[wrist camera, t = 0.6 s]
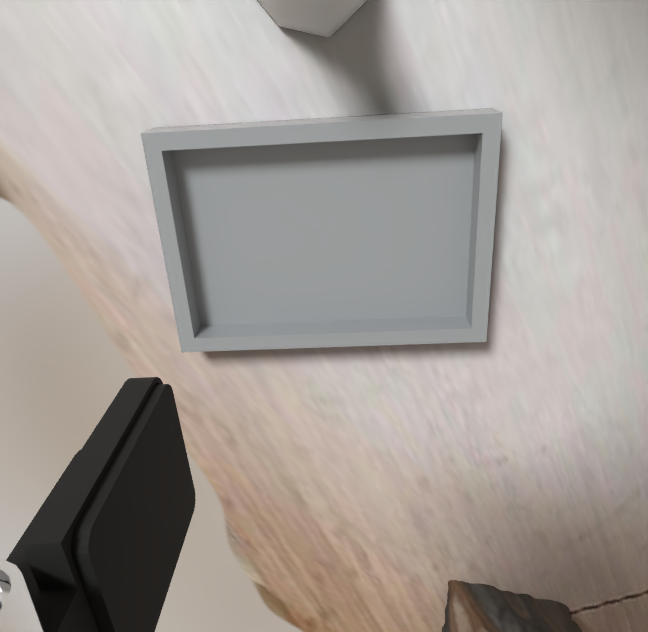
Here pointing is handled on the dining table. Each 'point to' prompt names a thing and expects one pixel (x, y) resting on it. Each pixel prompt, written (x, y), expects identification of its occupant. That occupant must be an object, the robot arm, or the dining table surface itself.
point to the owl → (502, 611)
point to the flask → (312, 14)
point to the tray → (328, 229)
